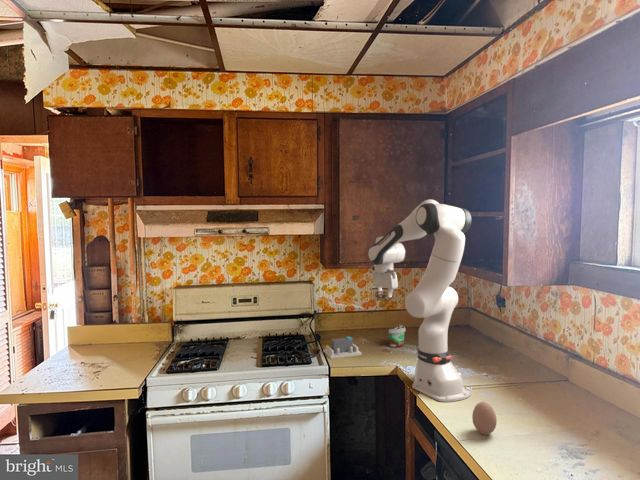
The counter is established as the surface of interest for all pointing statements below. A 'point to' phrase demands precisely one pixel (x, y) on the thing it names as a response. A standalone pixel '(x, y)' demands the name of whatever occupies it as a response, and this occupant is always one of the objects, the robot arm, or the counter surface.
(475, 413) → the egg
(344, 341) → the block
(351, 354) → the pin tray
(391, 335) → the food container
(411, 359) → the counter surface
